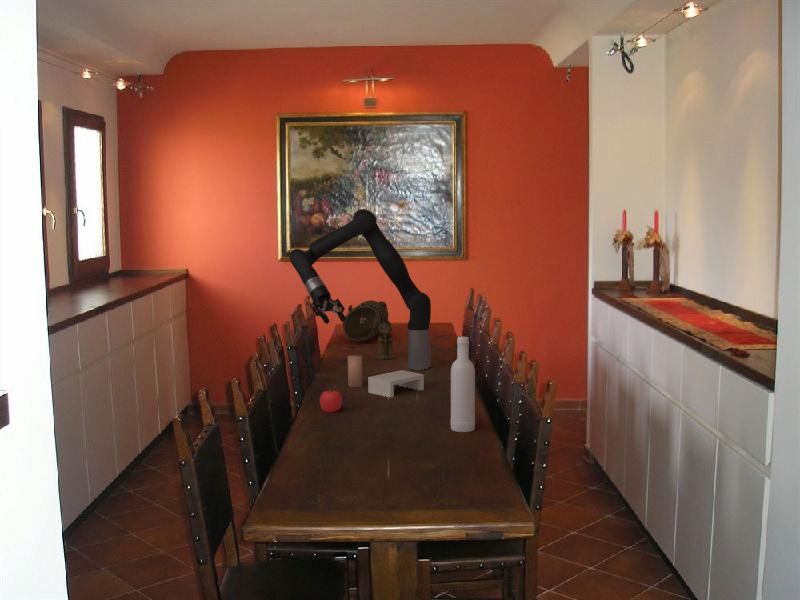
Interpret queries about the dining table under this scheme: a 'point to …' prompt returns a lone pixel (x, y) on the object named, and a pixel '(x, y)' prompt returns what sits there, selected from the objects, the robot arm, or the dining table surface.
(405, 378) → the white channel block
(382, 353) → the brown carved figurine
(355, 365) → the tan rounded-top cylinder
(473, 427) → the bottle
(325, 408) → the apple
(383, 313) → the basket
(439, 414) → the dining table surface
